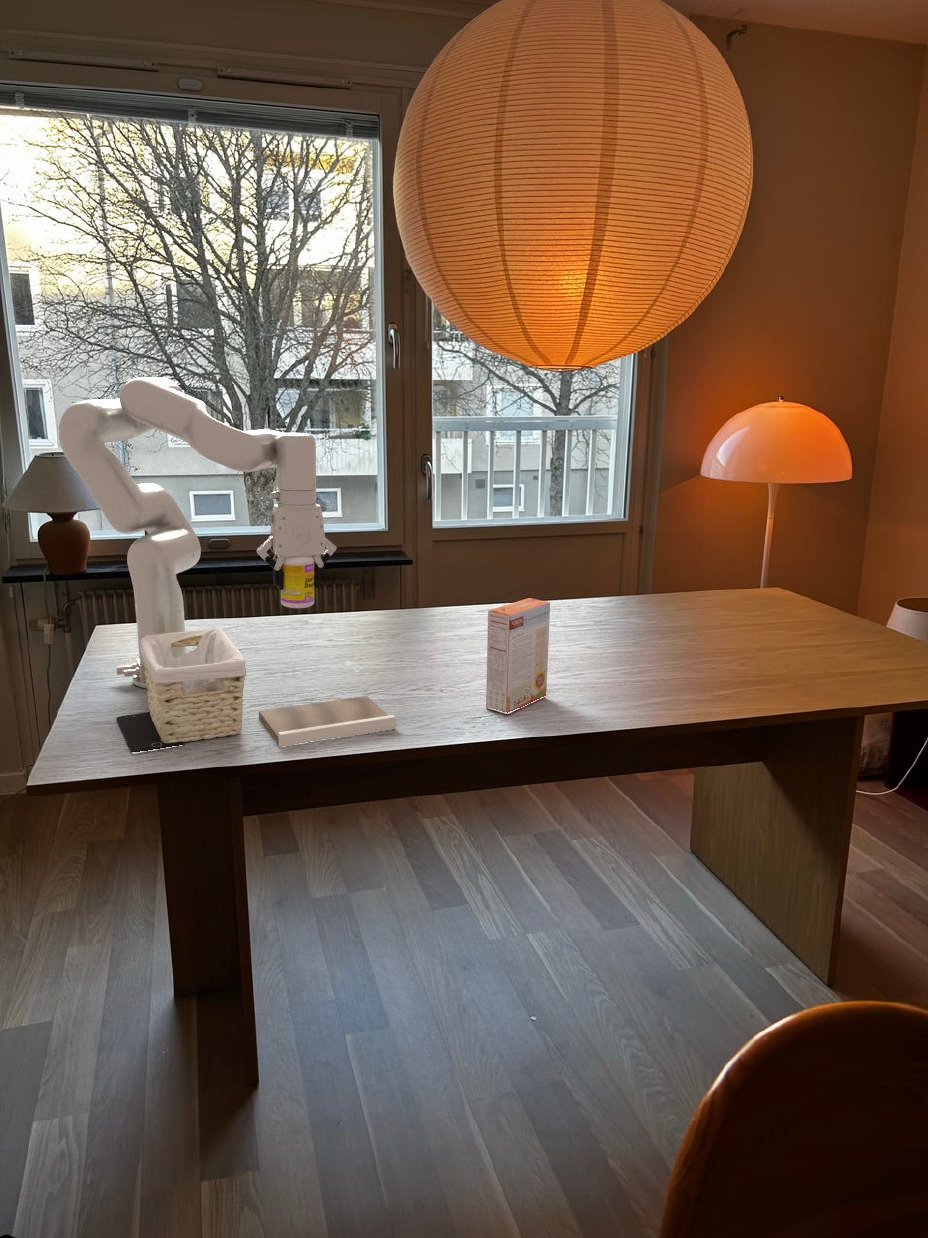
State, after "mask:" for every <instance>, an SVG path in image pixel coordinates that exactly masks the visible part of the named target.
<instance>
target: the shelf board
mask: <svg viewBox="0 0 928 1238" xmlns="http://www.w3.org/2000/svg"><path fill="white" fill-rule="evenodd" d="M388 715H389V714H388V713H386V712H385V711H384V710H383V709H382V708H381V707H380V706H378V705H377V704H376V702H375V701H373V700H372V699H371V698H370V697H369V695H362V696H355V697H349V698H342V699H335V700H327V701H320V702H319V701H318V702H313V703H307V704H297V705H293V706H292V705H291V706H284V707H277V708H271V709H263V710H258V719H259V720H260V722H261V723H262V724H263V726H264V727H265V728H266V730H267V732H269V734H270V735H271V736H272V738H273V740H274V741H275V740H276V741H277V742H276V741H275V742H276V744H277V743H278V744H279V737H278V732H284V731H290V730H297V729H303V728H310V727H316V726H323V725H329V724H336V723H342V722H349V721H356V720H362V719H369V718H375V717H382V716H388ZM278 744H277V745H278Z"/></svg>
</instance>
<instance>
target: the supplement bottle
mask: <svg viewBox="0 0 928 1238" xmlns="http://www.w3.org/2000/svg"><path fill="white" fill-rule="evenodd" d="M281 570H283V590H280V604H281V605H282V606H284V607H285V608H292V609H305V608H309V607H312V606H313V605H314V604H315V586H314V557H313V556H310V557H293V558H285V559H284V561H283V564H282V566H281Z"/></svg>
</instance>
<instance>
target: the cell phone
mask: <svg viewBox="0 0 928 1238" xmlns="http://www.w3.org/2000/svg"><path fill="white" fill-rule="evenodd" d="M116 722H117V724H119V725H118V727H119V729H120V732H121V733H123V734H122V736H123V735H124V736H123V738H124V737H125V738H124V740H125V739H126V740H125V742H126V741H127V742H126V745H127V744H128V745H127V746H129V747H128V749H129V748H130V749H129V750H131V751H130V753H131V752H140V751H148V750H153V749H160V748H166V747H172V746H179V745H183V744H184V745H185V742H174V743H164V742H162V741H161V740H162V739H161V737H160V736H159V733H158V731H157V729H156V727H155V725H154V722H153V721H152V718H151V716H150V711H147V712H139V713H132V714H126V715H120V716H117V717H116Z"/></svg>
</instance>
